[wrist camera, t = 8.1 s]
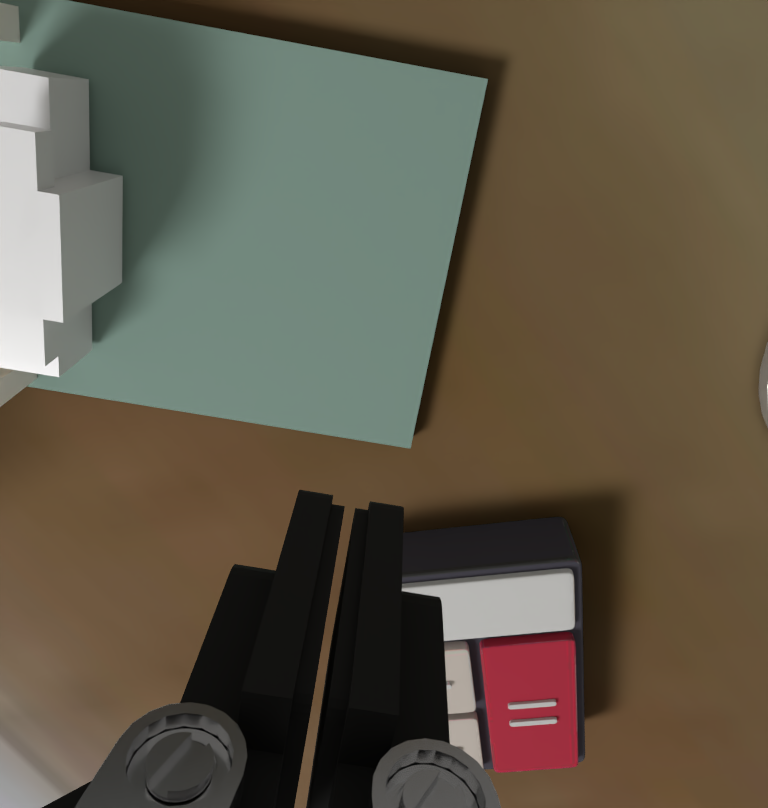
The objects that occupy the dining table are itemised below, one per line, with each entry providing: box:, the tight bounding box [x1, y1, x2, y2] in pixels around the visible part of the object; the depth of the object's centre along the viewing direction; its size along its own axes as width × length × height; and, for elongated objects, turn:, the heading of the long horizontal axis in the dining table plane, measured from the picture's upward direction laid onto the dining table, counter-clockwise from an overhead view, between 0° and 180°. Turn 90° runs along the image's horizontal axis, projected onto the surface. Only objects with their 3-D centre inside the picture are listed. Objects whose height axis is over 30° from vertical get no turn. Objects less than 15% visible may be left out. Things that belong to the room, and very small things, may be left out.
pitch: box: [0, 0, 488, 448], centre depth 29 cm, size 24×16×1 cm, turn 80°
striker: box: [0, 66, 123, 377], centre depth 25 cm, size 4×11×6 cm, turn 171°
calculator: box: [402, 517, 585, 772], centre depth 37 cm, size 11×4×15 cm
